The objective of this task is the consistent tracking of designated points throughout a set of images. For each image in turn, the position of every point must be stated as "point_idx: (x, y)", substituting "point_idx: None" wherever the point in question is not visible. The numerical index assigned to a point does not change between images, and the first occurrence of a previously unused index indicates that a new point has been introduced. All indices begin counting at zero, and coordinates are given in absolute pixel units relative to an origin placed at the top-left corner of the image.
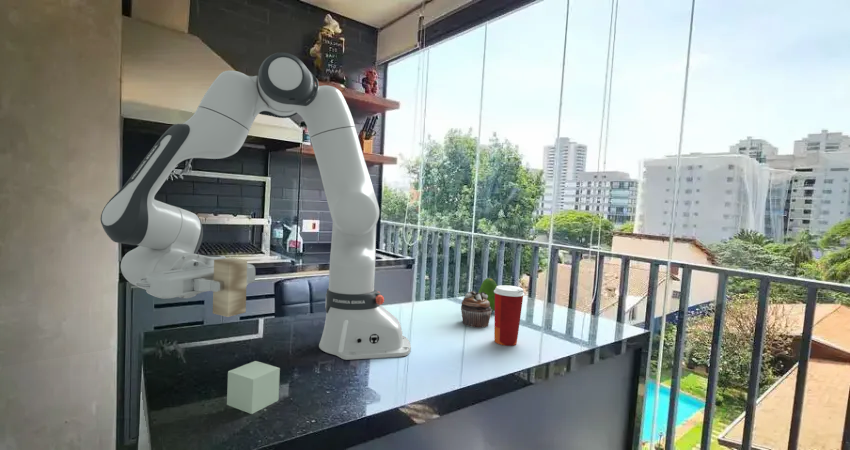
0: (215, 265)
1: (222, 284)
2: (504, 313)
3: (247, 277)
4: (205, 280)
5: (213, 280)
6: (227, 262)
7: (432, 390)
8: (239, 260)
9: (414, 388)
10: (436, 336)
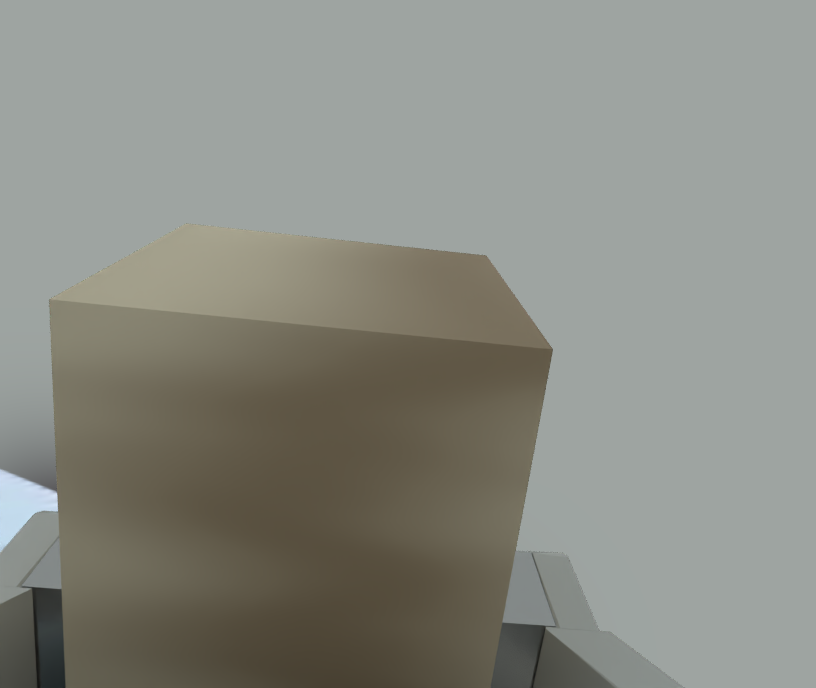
0: (520, 440)
1: None
2: None
3: (49, 511)
4: (669, 679)
5: (548, 630)
6: (491, 268)
7: (20, 499)
8: (285, 240)
9: (12, 530)
10: None
